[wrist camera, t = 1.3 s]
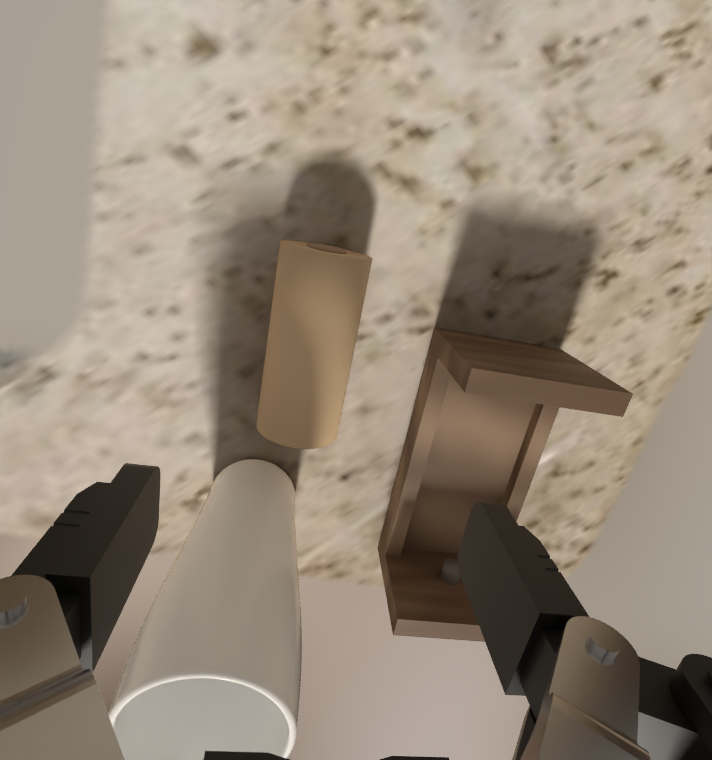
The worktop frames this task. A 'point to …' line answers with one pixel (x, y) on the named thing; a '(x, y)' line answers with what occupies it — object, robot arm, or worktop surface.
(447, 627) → the holder
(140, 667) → the drinking glass
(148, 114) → the worktop surface
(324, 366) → the roll
